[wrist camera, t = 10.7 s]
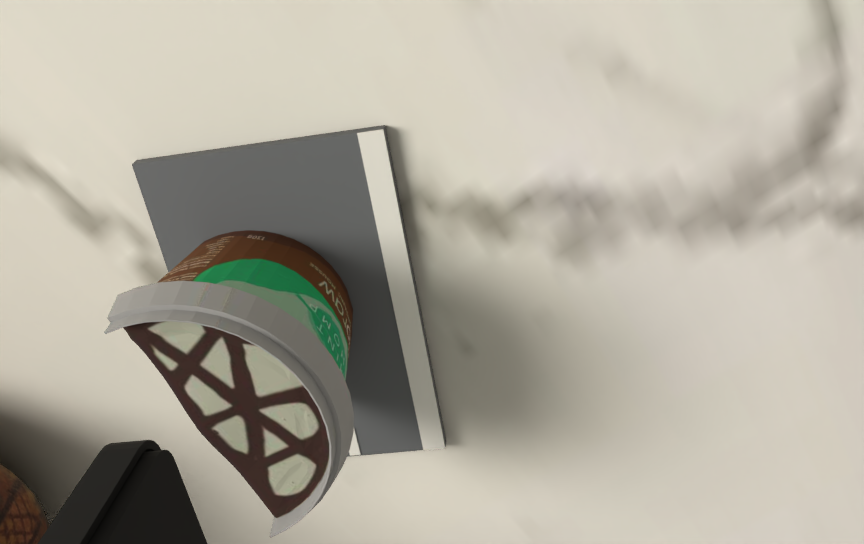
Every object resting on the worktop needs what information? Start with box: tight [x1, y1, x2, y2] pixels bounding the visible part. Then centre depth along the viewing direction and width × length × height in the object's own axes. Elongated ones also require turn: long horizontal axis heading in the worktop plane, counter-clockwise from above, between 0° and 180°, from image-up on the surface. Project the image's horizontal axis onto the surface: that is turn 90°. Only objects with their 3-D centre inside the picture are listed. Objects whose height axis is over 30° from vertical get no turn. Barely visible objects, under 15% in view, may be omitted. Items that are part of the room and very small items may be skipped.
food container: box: [104, 230, 354, 537], centre depth 36 cm, size 12×6×10 cm, turn 29°
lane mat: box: [132, 125, 446, 456], centre depth 41 cm, size 12×18×1 cm, turn 9°
